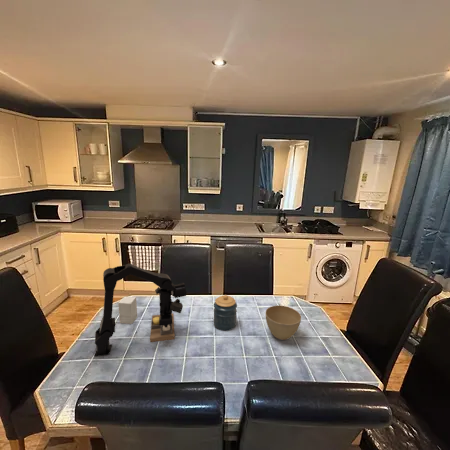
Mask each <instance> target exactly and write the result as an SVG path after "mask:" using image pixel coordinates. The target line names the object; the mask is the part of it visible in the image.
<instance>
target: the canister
mask: <svg viewBox="0 0 450 450" xmlns="http://www.w3.org/2000/svg"><path fill="white" fill-rule="evenodd" d="M237 307H238V304H237V301H236V299H235V298H234V297H232V296H230V295H227V294H224V295H221V296H218V297H216V298H215V301H214V303H213V326H214V327H215V328H216V329H218V330H220V331H231V330H233V329H234V328H235V327H236V325H237V312H238V311H237Z"/></svg>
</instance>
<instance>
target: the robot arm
mask: <svg viewBox="0 0 450 450" xmlns="http://www.w3.org/2000/svg"><path fill="white" fill-rule="evenodd" d="M130 275H131V276H133V277H136V278H139V279H142V280H145V281H147V282H151V283H153V284H154V285H155V286H157V288H156V289H155V290H154V291H155V294H156V295H158V297H159V315H160V317H159V325H164V326H165V327H167V326H168V325H169V324H172V315H171V314H172V313H173V312H175V313H178V314H181V313H182V310H183V308H184V307H183V303H182V302H181V300H180V298H183V297H187V289H186V284H185V283H184V282H181V283H178V284H174V283H173V281H172V279H171V278H170V276H169V275H168V274H167V273H162V272H157V273H156V272H153V271H150V270H147V269H144V268H142V267H139V266H137V265H134V264H132V263H127V264H124V265H119V266H114V267H109V268H106V269H105V270H104V271H103V274H102V276H103V277H102V278H103V279H102V280H103V286H104V287H103V288H104V300H103V301H104V302H103V313H102V317H101V319H100V324H99V327H98V328H97V330H96V331H94V332H95V333H94V344H95V347H96V350H95V351H94V357H98V356H99V357H100V356H107V355H108V356H109V355H110V353H111V350H112V347H113V344H110V338H112V337H113V336H114V333H116V317H113V305H114V291H115V289H116V286H117V282H119V281H121V280H124V279H125V278H127V277H128V276H130ZM172 297H173V298H174V299H175V300H173V299H172Z"/></svg>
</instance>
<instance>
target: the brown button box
mask: <svg viewBox="0 0 450 450" xmlns="http://www.w3.org/2000/svg"><path fill="white" fill-rule="evenodd" d="M171 315H172V324H169V325H170V330H168V331H163V326H164V325H154V324H153V318H154V317H160V314H155V315H154V314H153V315H152V316H151V320H150V336H149V343H155V342H164V341H171V340H175V339H176V338H175V316H174V315H175V314H174V313H173V312H172V314H171Z"/></svg>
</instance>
